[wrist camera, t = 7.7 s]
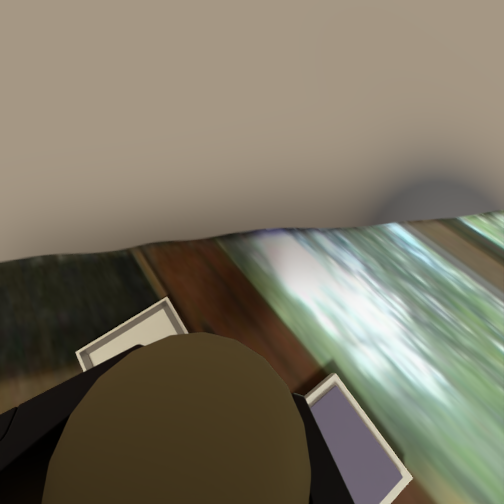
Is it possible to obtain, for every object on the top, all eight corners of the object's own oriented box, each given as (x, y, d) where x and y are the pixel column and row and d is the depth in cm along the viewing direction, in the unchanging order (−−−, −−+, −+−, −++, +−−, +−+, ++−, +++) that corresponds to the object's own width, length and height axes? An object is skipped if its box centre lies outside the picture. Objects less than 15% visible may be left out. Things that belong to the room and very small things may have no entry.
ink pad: (322, 563, 17) (328, 578, 16) (251, 441, 19) (252, 446, 18) (404, 472, 19) (415, 479, 18) (331, 372, 21) (337, 373, 20)
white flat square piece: (119, 451, 18) (116, 452, 18) (77, 352, 21) (74, 352, 21) (215, 379, 21) (215, 379, 20) (167, 297, 23) (166, 296, 23)
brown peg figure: (157, 363, 15) (-15, 342, 5) (259, 336, 16) (291, 271, 6) (170, 497, 12) (-122, 1006, 2) (290, 456, 13) (441, 709, 3)
